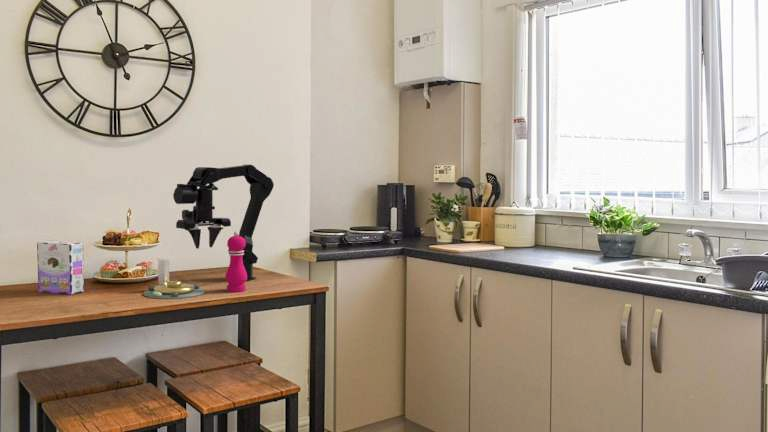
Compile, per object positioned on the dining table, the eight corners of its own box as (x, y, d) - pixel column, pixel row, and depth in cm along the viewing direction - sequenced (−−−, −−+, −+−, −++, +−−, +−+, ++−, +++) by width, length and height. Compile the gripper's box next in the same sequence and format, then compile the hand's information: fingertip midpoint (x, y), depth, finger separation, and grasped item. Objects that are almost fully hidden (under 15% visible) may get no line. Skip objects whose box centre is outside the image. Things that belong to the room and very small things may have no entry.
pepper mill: (241, 293, 221) (242, 232, 219) (221, 291, 222) (221, 231, 221) (250, 289, 228) (250, 230, 226) (230, 288, 229) (230, 229, 228)
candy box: (84, 292, 217) (84, 241, 216) (70, 295, 212) (70, 243, 210) (51, 288, 222) (50, 239, 220) (37, 291, 216) (36, 241, 215)
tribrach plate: (216, 293, 219) (216, 288, 219) (163, 301, 205) (163, 295, 205) (184, 285, 231) (184, 280, 231) (132, 292, 217) (132, 287, 217)
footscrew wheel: (202, 290, 219) (202, 262, 218) (167, 295, 209) (166, 265, 208) (177, 284, 228) (177, 257, 228) (143, 289, 219) (142, 260, 218)
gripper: (213, 201, 245) (213, 243, 246) (167, 202, 231) (167, 247, 232) (231, 202, 237) (231, 246, 238) (185, 204, 223) (185, 250, 224)
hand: (204, 247), depth 233 cm, fingers open, 5 cm apart
